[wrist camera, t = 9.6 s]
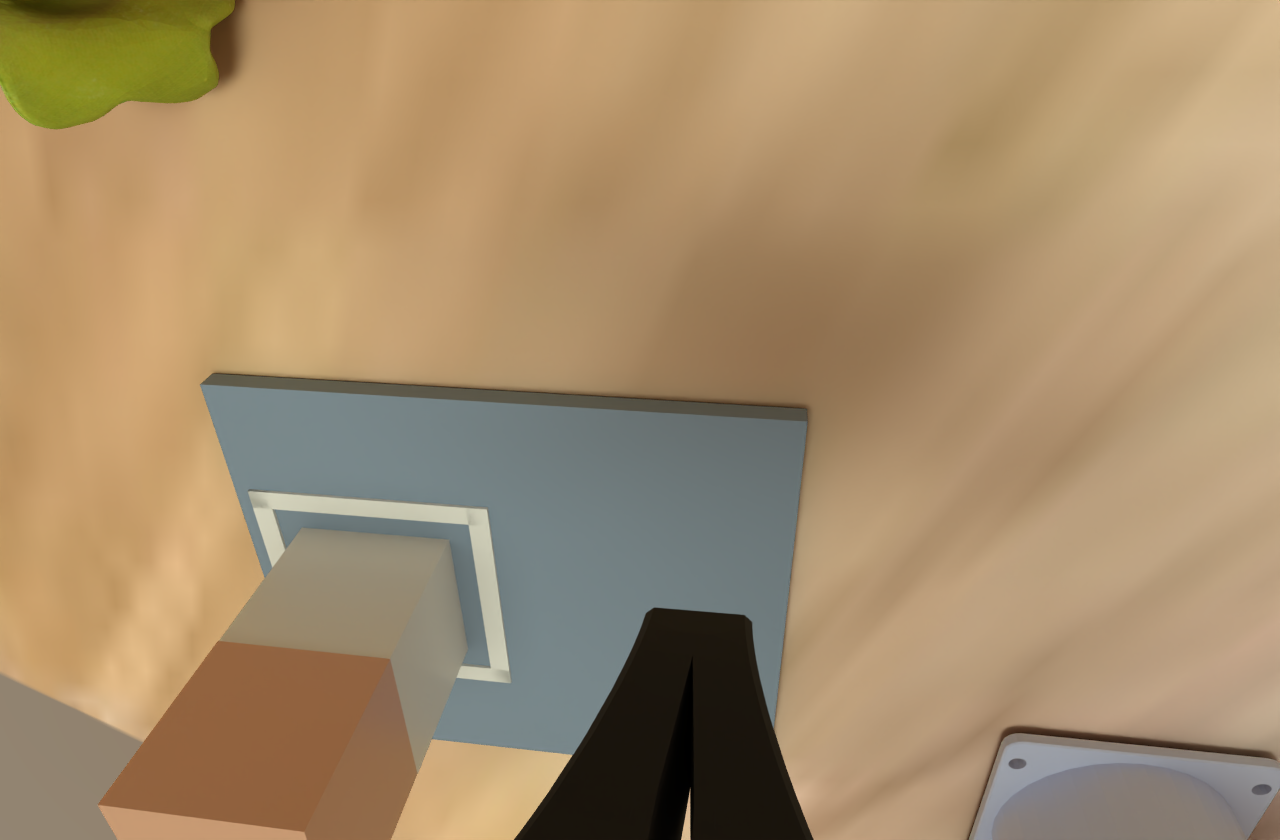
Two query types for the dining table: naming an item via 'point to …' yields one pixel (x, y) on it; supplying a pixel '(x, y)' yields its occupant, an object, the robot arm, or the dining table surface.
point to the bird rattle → (104, 55)
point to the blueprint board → (533, 522)
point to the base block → (367, 613)
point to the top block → (271, 752)
